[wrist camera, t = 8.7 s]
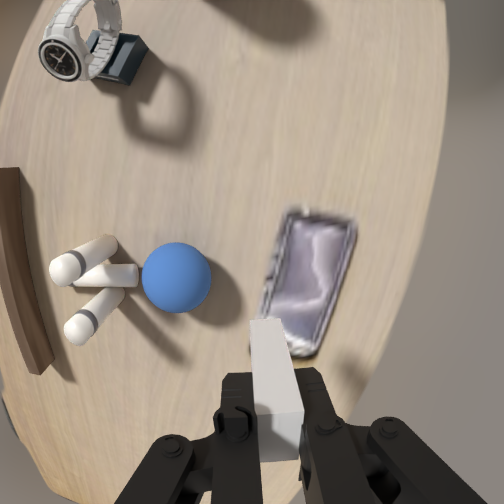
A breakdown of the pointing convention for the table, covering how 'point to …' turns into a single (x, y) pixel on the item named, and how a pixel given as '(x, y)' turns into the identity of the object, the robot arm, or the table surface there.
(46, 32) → the watch
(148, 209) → the table surface
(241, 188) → the table surface
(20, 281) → the back wall
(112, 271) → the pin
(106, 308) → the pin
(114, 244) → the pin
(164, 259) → the ball
